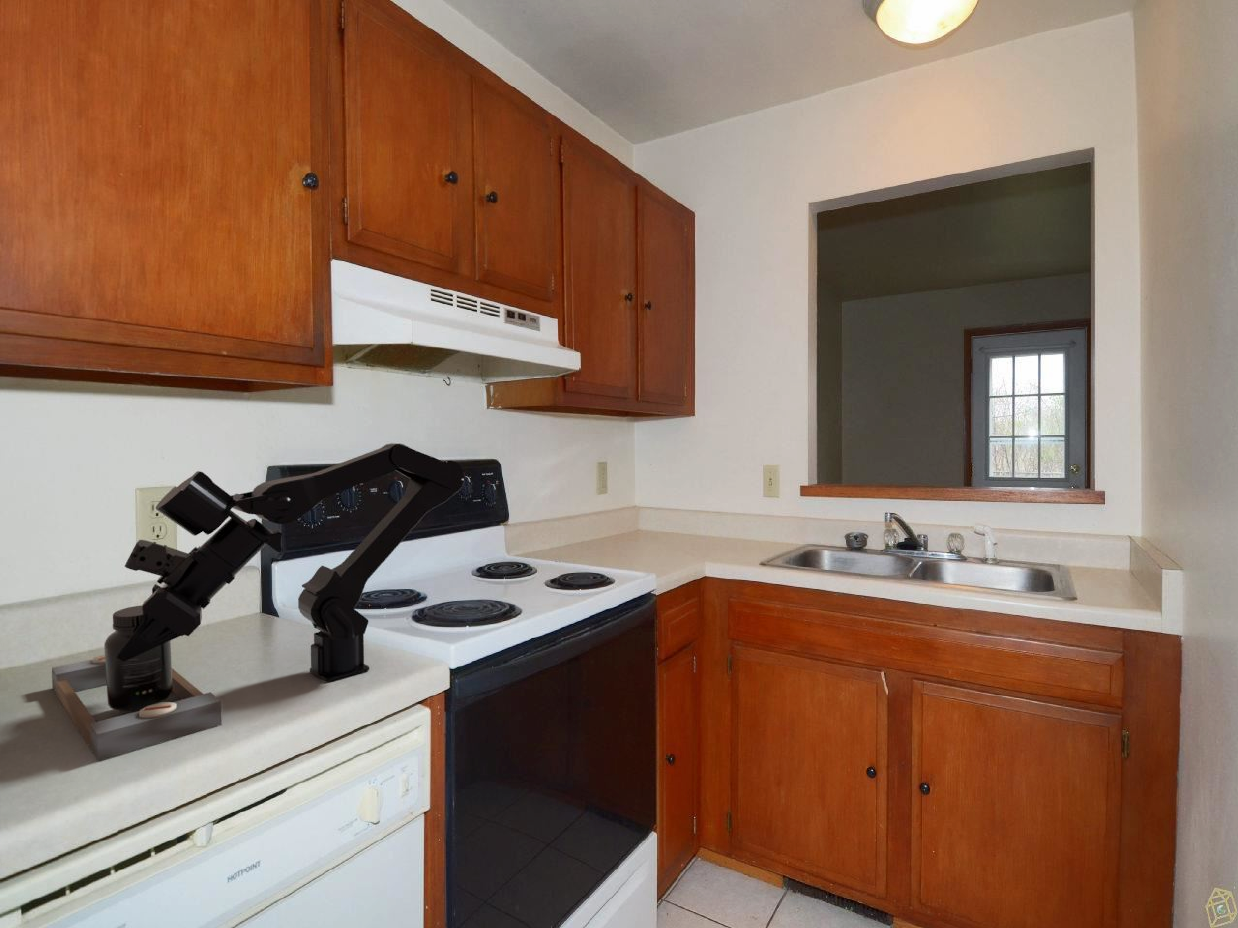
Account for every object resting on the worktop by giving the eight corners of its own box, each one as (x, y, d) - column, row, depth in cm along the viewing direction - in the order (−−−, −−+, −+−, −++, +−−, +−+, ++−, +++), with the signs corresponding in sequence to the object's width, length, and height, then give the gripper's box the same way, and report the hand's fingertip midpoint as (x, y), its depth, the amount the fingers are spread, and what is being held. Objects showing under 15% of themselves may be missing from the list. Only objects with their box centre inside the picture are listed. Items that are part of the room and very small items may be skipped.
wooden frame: (154, 665, 99) (154, 643, 99) (221, 724, 79) (220, 695, 79) (52, 688, 90) (51, 663, 90) (98, 761, 70) (96, 728, 70)
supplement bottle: (104, 698, 83) (99, 608, 82) (167, 684, 88) (164, 598, 87) (111, 718, 78) (106, 622, 77) (177, 701, 83) (174, 611, 82)
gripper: (176, 510, 91) (80, 597, 86) (162, 525, 75) (44, 633, 70) (242, 559, 96) (154, 644, 91) (242, 583, 80) (136, 688, 75)
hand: (124, 651), depth 81 cm, fingers closed on supplement bottle, 7 cm apart
